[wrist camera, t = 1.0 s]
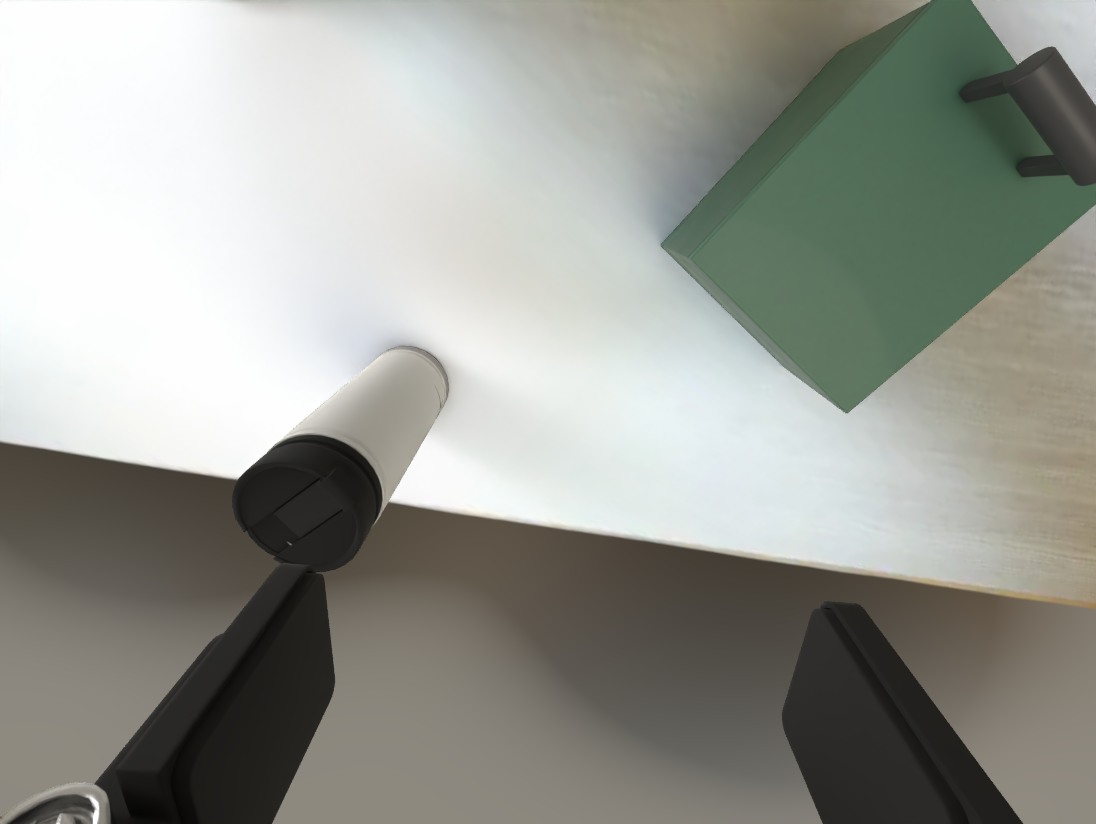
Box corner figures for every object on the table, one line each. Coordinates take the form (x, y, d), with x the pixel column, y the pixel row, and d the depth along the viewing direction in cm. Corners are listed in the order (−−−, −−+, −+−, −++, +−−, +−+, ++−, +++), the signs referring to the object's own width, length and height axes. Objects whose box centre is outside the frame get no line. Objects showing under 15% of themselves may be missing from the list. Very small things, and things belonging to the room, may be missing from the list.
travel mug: (468, 389, 42) (395, 537, 24) (406, 434, 44) (293, 606, 25) (416, 326, 41) (292, 433, 22) (353, 375, 42) (189, 514, 24)
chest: (839, 50, 34) (929, 1, 25) (964, 204, 37) (1080, 205, 28) (660, 245, 38) (686, 257, 30) (784, 367, 41) (840, 409, 33)
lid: (944, -15, 25) (1045, -71, 20) (1095, 192, 28) (1217, 191, 23) (687, 257, 30) (713, 269, 25) (840, 409, 33) (892, 448, 28)
